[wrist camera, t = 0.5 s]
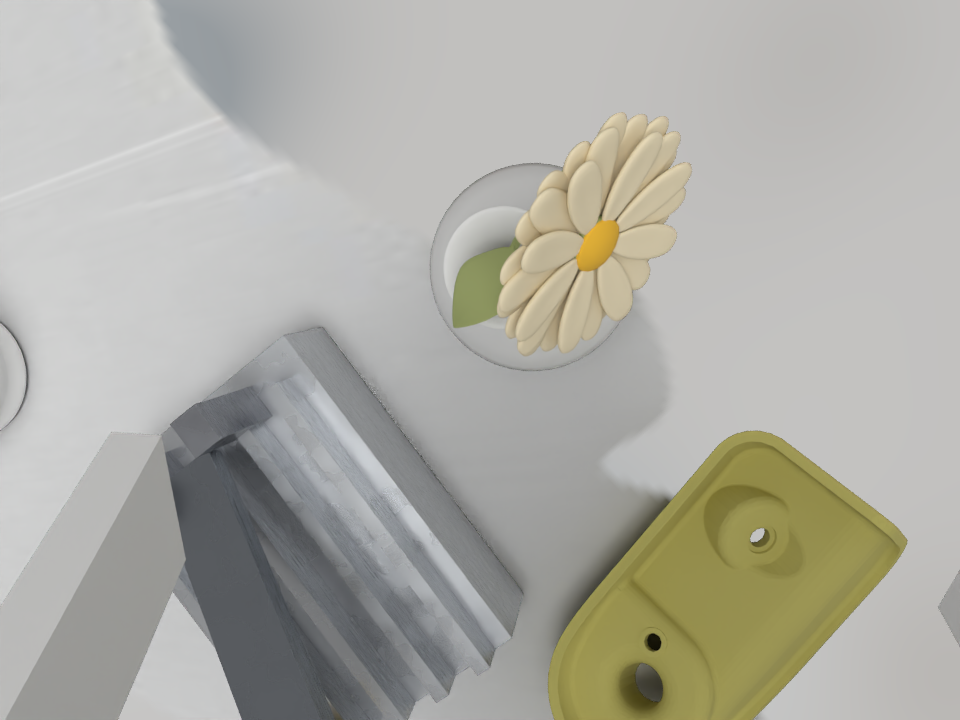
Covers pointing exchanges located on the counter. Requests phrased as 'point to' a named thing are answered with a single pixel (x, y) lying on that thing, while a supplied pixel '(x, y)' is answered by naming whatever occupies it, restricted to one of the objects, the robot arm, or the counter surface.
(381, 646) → the heatsink block
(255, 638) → the dark grey flat bar
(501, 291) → the flower in vase
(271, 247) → the counter surface
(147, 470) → the robot arm
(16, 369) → the jar
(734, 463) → the plastic component
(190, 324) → the counter surface
